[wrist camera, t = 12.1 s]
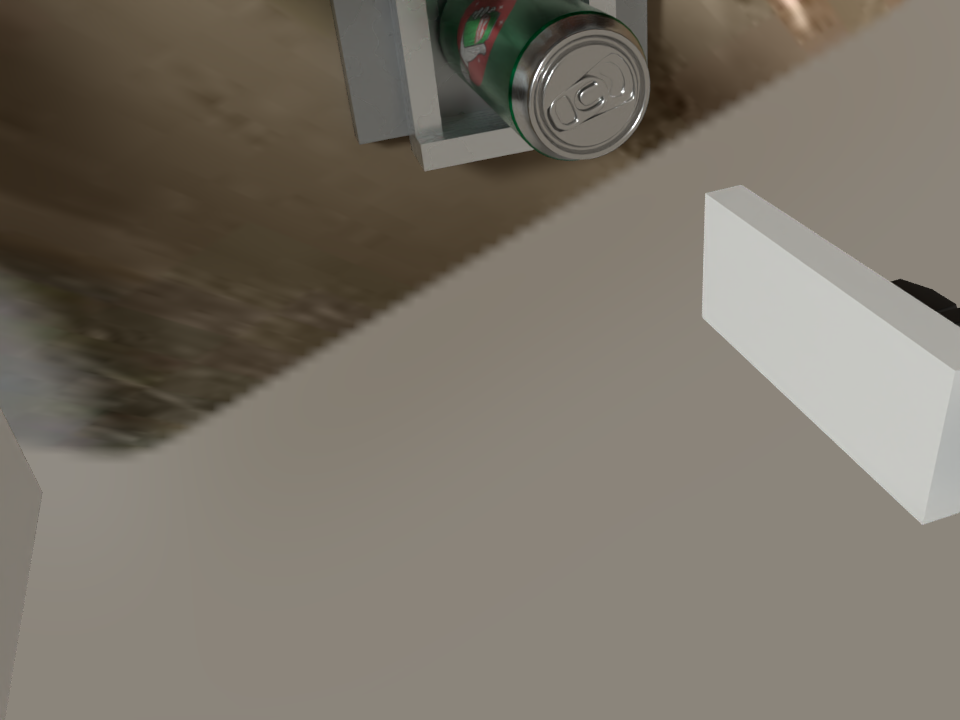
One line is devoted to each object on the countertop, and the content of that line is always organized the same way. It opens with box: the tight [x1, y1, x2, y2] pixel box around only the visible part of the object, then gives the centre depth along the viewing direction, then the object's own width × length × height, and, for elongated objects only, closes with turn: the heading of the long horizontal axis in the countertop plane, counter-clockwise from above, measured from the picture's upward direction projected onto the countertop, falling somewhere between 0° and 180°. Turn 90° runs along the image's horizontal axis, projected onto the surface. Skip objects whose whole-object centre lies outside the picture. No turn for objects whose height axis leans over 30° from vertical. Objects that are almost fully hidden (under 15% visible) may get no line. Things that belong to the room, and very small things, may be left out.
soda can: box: [440, 0, 650, 161], centre depth 35 cm, size 5×5×12 cm
